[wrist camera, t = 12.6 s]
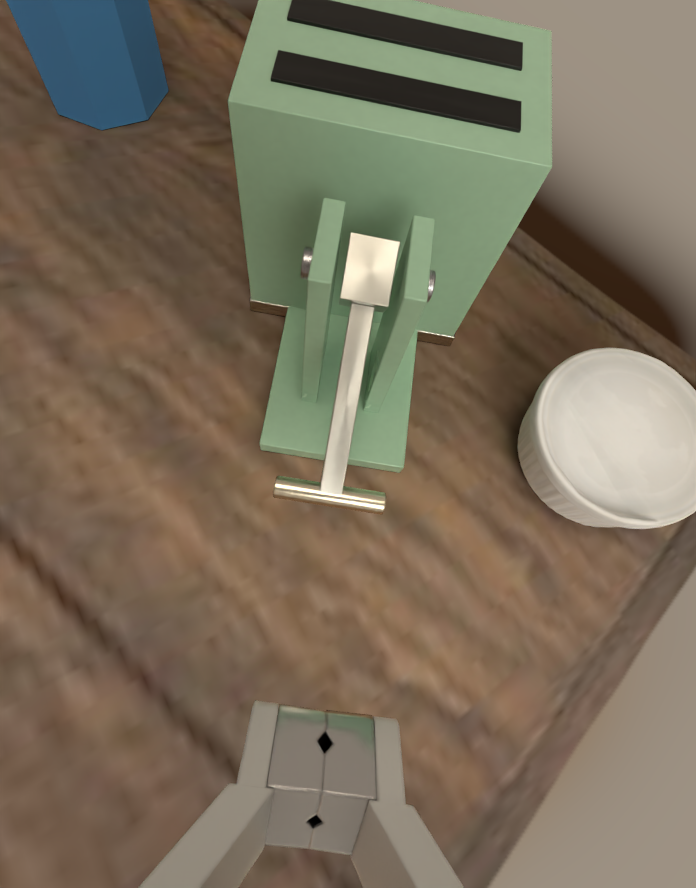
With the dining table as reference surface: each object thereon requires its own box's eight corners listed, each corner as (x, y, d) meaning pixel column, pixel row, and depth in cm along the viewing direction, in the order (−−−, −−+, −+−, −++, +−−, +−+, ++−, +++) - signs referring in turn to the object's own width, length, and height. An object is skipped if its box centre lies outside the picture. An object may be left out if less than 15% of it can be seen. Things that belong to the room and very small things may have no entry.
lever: (379, 507, 26) (384, 521, 23) (276, 491, 26) (270, 503, 23) (426, 259, 24) (437, 248, 22) (315, 238, 24) (313, 224, 21)
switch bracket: (399, 473, 32) (470, 381, 20) (260, 450, 32) (241, 341, 19) (415, 326, 36) (482, 171, 23) (290, 304, 35) (291, 132, 23)
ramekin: (475, 487, 32) (509, 463, 27) (535, 356, 36) (574, 314, 31) (633, 573, 32) (697, 565, 27) (677, 430, 35) (740, 400, 30)
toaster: (449, 346, 36) (556, 166, 21) (250, 310, 35) (223, 98, 20) (457, 243, 39) (555, 26, 24) (275, 208, 38) (266, -39, 24)
